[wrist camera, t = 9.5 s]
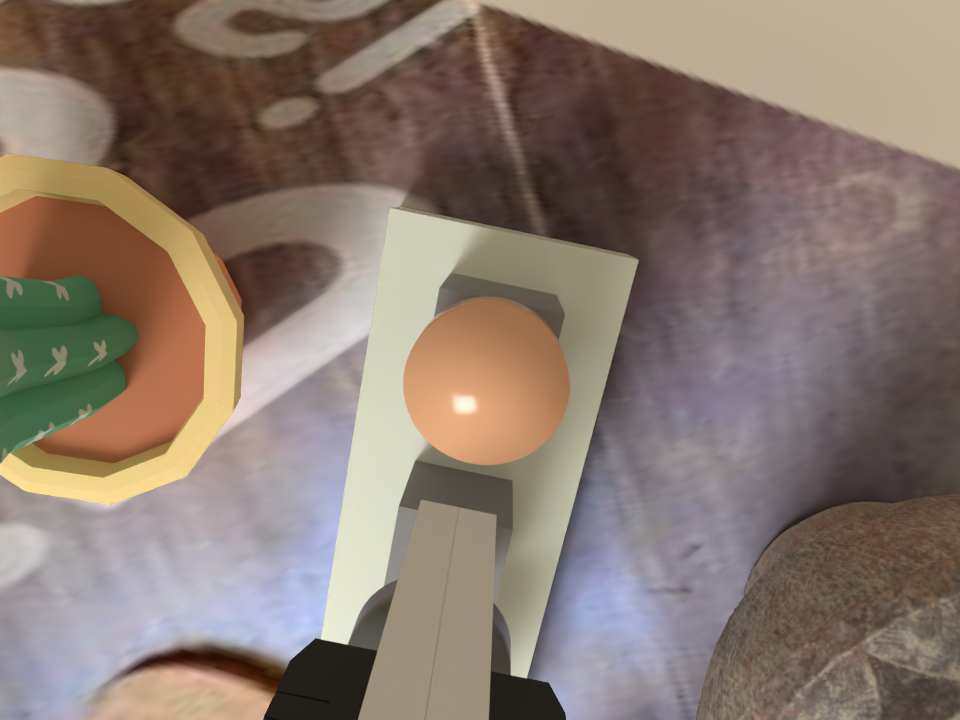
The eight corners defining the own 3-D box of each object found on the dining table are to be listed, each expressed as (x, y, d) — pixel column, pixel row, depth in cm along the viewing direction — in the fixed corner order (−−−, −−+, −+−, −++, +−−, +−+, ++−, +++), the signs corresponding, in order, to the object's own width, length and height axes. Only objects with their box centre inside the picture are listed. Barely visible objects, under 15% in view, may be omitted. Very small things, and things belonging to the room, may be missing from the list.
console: (323, 678, 40) (278, 793, 33) (400, 206, 33) (366, 210, 25) (506, 716, 40) (505, 839, 33) (627, 254, 33) (663, 273, 25)
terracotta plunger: (417, 390, 30) (390, 446, 23) (440, 266, 29) (418, 289, 22) (540, 415, 30) (548, 479, 23) (569, 293, 29) (587, 324, 22)
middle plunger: (370, 610, 30) (329, 733, 23) (391, 496, 28) (353, 593, 21) (495, 635, 30) (491, 766, 23) (523, 523, 28) (527, 628, 21)
